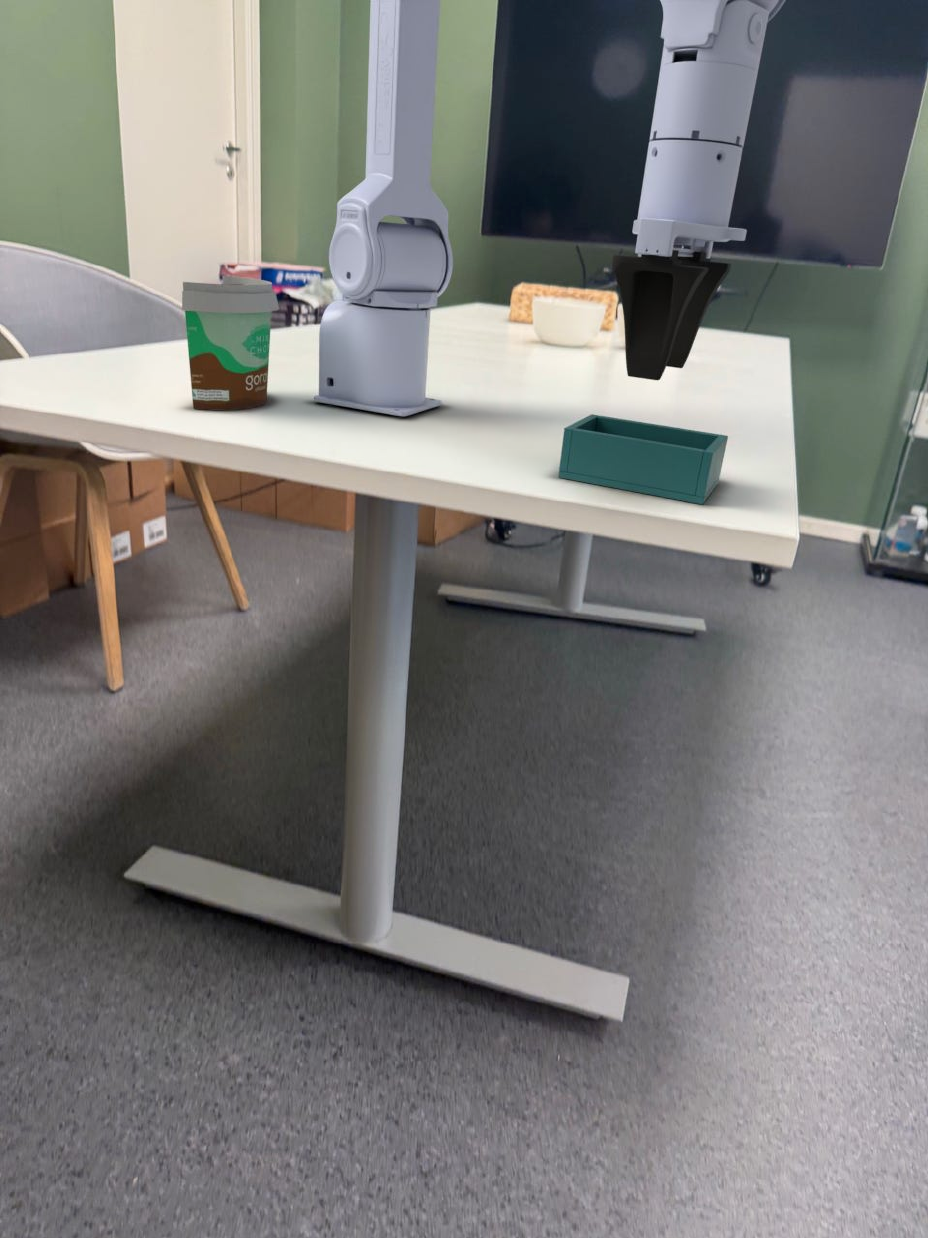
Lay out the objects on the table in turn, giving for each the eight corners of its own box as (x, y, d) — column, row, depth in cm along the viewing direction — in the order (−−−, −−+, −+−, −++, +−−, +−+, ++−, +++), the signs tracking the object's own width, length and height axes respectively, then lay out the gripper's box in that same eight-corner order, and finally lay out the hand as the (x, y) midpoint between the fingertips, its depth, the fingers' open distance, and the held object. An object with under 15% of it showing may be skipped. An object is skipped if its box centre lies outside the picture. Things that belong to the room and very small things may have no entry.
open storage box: (557, 477, 60) (564, 428, 59) (585, 459, 66) (591, 413, 64) (702, 504, 57) (713, 452, 55) (718, 483, 62) (728, 435, 61)
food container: (262, 418, 70) (259, 288, 66) (187, 411, 70) (180, 281, 66) (292, 392, 81) (292, 280, 77) (228, 387, 81) (224, 274, 77)
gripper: (746, 132, 45) (696, 393, 51) (774, 161, 57) (731, 368, 63) (617, 127, 47) (583, 376, 53) (670, 155, 60) (638, 356, 65)
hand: (656, 371), depth 58 cm, fingers open, 7 cm apart
